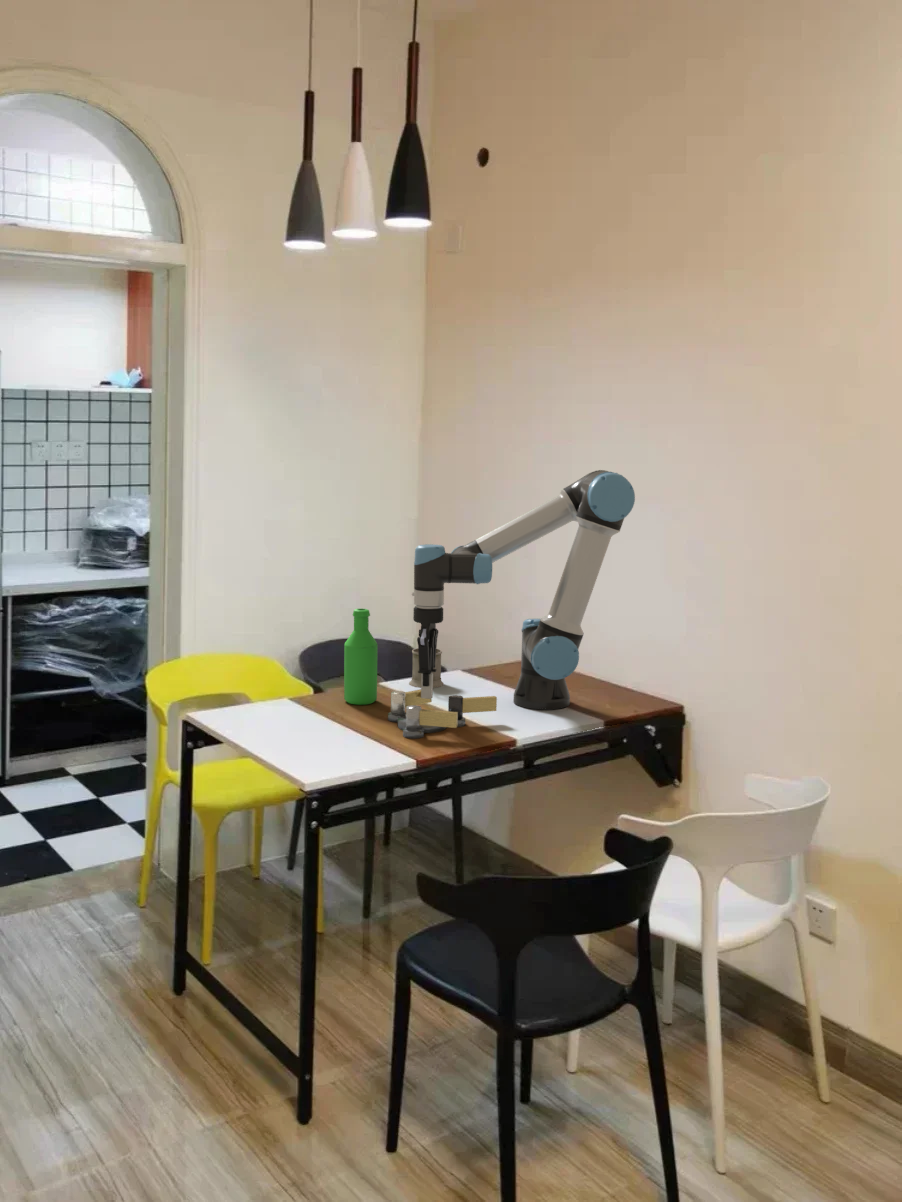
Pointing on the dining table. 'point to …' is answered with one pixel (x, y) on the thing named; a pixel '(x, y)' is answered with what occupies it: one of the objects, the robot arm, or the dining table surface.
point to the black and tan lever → (471, 704)
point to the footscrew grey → (429, 718)
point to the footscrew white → (405, 701)
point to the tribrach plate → (424, 728)
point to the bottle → (360, 662)
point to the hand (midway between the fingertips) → (426, 697)
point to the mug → (436, 675)
